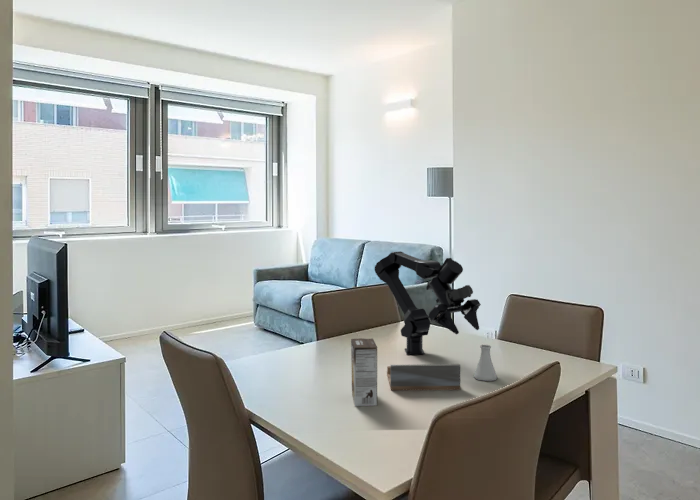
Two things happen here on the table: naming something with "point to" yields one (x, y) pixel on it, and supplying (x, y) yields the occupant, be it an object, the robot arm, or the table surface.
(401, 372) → the chalkboard eraser
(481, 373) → the flask
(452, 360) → the table surface
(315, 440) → the table surface
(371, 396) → the coffee box
